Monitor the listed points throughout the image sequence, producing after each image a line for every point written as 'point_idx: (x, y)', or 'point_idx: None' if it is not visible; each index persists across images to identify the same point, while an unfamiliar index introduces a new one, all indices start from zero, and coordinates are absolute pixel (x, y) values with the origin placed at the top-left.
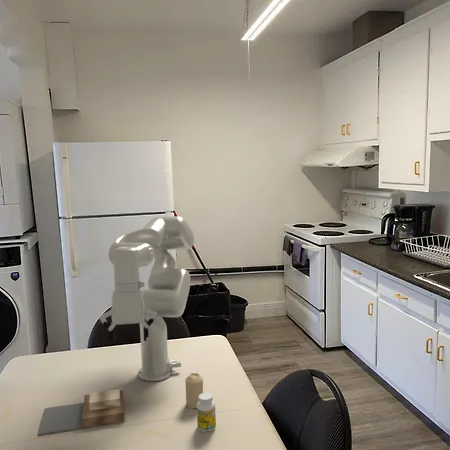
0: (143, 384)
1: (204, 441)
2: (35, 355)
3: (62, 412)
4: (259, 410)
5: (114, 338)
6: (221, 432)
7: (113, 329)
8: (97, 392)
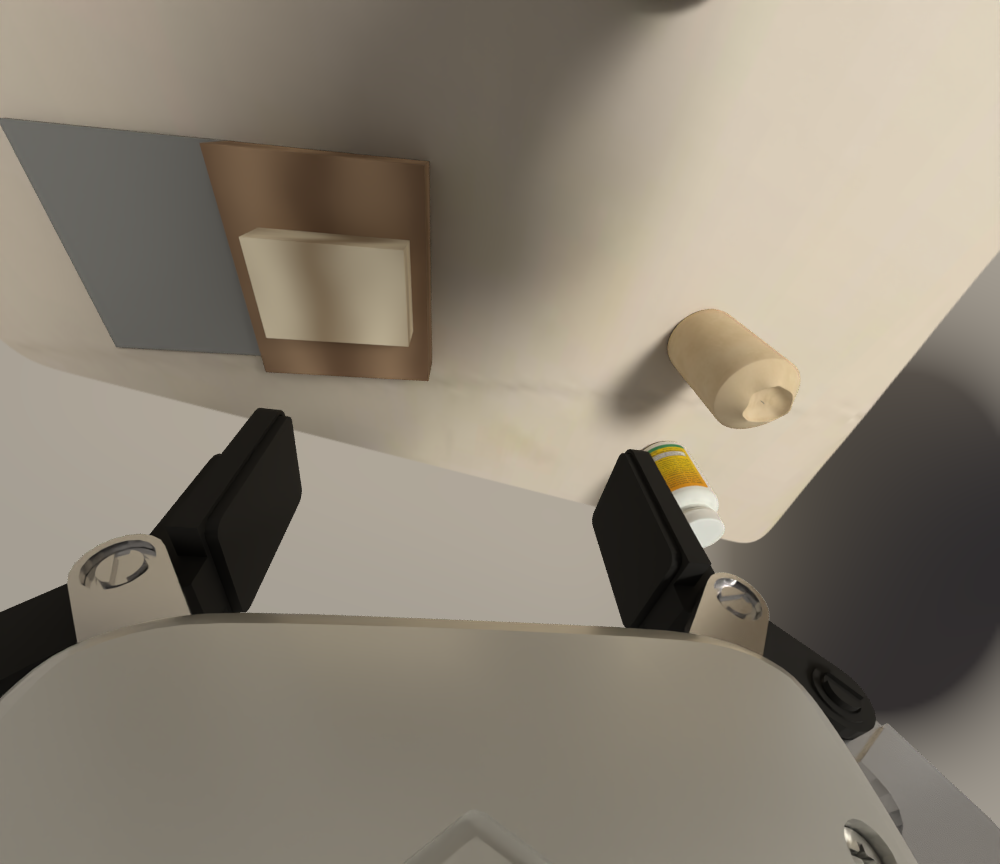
0: (563, 3)
1: None
2: None
3: (135, 209)
4: (841, 436)
5: (283, 512)
6: None
7: (219, 608)
8: (282, 245)
